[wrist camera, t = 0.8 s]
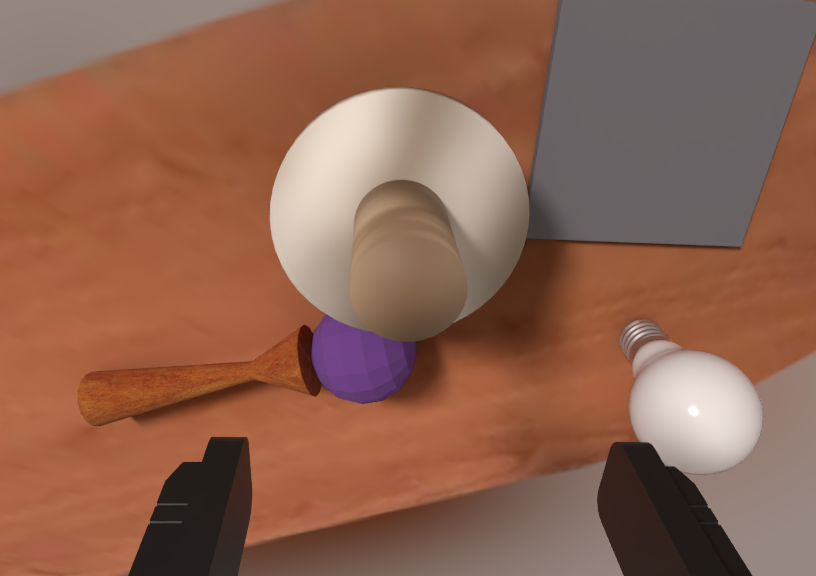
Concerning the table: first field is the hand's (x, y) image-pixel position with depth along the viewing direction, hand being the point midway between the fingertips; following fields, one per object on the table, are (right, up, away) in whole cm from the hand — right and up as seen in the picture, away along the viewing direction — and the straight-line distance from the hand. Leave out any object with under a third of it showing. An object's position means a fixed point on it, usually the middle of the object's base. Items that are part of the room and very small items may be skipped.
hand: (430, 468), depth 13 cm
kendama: (-10, 0, +25) cm, 27 cm away
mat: (+13, +13, +19) cm, 26 cm away
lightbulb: (+14, +1, +26) cm, 29 cm away
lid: (-1, +7, +13) cm, 15 cm away
